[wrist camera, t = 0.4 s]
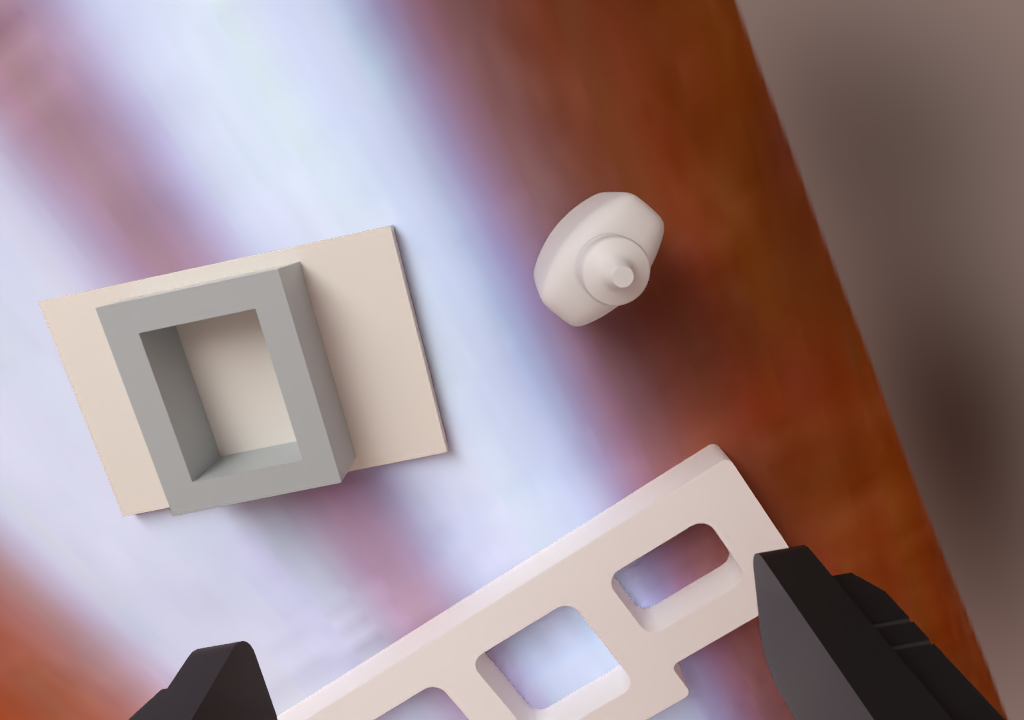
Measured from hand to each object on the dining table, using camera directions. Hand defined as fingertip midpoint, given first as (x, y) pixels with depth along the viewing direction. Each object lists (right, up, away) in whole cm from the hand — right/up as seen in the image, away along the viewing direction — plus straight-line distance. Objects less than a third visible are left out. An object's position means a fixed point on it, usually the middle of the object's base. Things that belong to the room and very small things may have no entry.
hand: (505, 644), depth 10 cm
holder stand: (-13, +4, +24) cm, 28 cm away
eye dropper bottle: (+4, +10, +23) cm, 25 cm away
